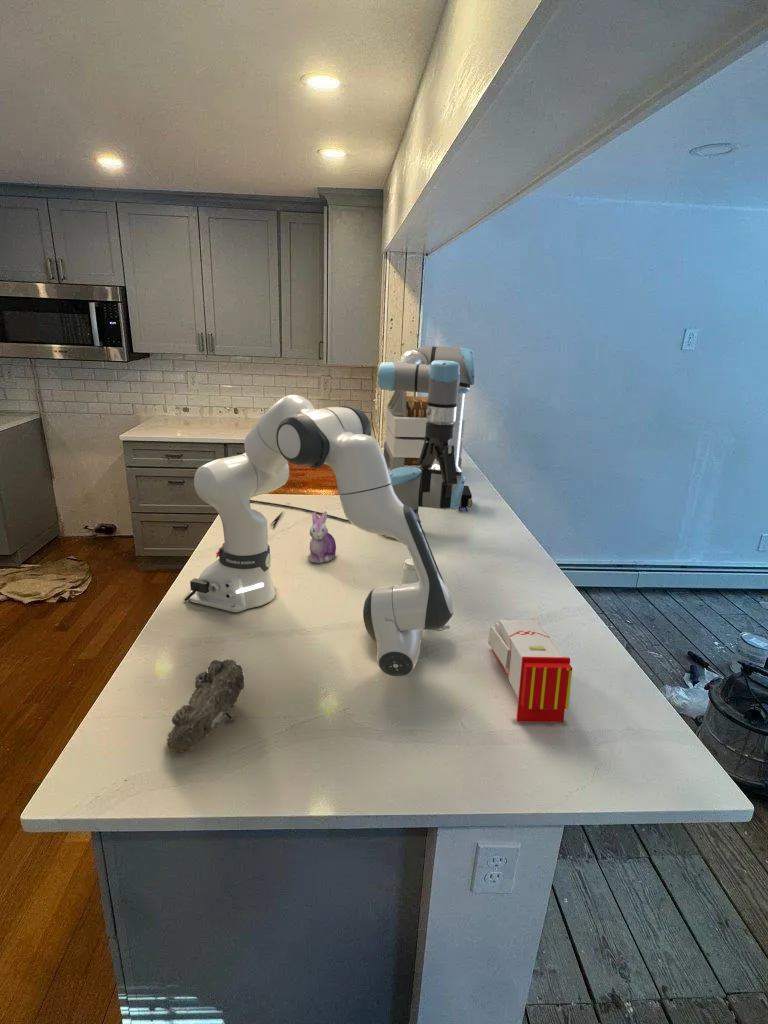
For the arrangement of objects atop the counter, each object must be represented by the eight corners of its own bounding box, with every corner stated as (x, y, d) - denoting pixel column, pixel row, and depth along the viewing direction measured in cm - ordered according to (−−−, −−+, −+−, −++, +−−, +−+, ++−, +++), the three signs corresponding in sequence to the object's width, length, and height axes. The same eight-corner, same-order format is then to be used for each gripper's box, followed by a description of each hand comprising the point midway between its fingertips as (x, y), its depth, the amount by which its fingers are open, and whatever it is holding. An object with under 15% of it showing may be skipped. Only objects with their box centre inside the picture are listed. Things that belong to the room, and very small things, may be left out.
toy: (535, 605, 135) (581, 664, 106) (530, 657, 138) (574, 728, 108) (484, 604, 135) (517, 662, 105) (480, 656, 137) (511, 727, 108)
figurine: (314, 566, 172) (314, 520, 167) (302, 553, 180) (302, 509, 175) (342, 561, 176) (343, 516, 171) (330, 549, 184) (330, 505, 179)
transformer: (382, 463, 289) (386, 382, 275) (445, 464, 293) (451, 384, 279) (390, 482, 257) (394, 392, 243) (460, 483, 261) (468, 394, 247)
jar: (411, 621, 144) (415, 567, 139) (396, 614, 147) (399, 561, 142) (423, 614, 148) (427, 561, 143) (408, 607, 151) (411, 555, 146)
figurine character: (472, 516, 224) (466, 500, 237) (474, 499, 220) (469, 483, 234) (455, 515, 224) (451, 499, 237) (457, 498, 220) (452, 483, 234)
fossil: (192, 660, 117) (244, 628, 112) (224, 691, 120) (276, 661, 115) (142, 746, 98) (202, 712, 93) (182, 779, 101) (242, 748, 96)
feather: (289, 506, 225) (292, 502, 225) (272, 529, 199) (275, 525, 198) (286, 503, 225) (288, 500, 225) (268, 527, 199) (271, 522, 198)
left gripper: (451, 618, 127) (453, 590, 140) (361, 608, 130) (371, 581, 142) (449, 642, 129) (451, 612, 142) (360, 632, 132) (370, 604, 145)
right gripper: (409, 413, 157) (405, 486, 164) (447, 432, 135) (440, 515, 142) (434, 413, 160) (429, 485, 167) (475, 431, 138) (467, 513, 145)
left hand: (410, 597), depth 142 cm, fingers open, 8 cm apart
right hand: (434, 499), depth 155 cm, fingers open, 13 cm apart
